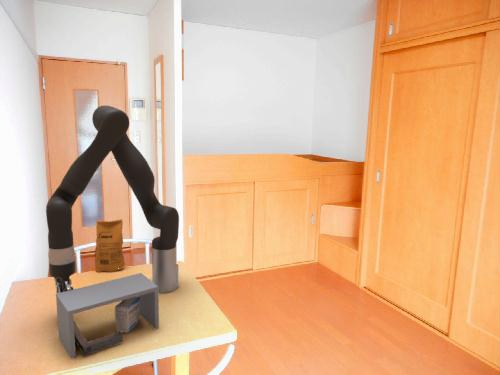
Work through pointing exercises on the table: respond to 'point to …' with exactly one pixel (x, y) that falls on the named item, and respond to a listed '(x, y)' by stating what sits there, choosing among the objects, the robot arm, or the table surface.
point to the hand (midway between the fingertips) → (65, 309)
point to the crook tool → (95, 341)
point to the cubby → (105, 303)
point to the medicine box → (127, 314)
